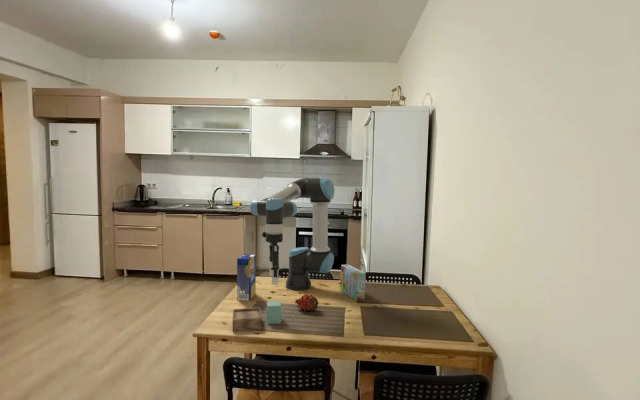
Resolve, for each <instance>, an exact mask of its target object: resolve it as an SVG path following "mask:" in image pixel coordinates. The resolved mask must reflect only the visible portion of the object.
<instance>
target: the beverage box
mask: <svg viewBox="0 0 640 400" xmlns="http://www.w3.org/2000/svg"><path fill="white" fill-rule="evenodd" d="M256 260H257V254H250V253H249V254H245V253H244V254H242V255H241V256H239V257H237V259H236V300H237V301H248V300H250V299H251V300H252V298H253V297H254V296H255V295H256V293H257V292H256V290H257V287H256V283H257V280H256V276H257V275H256V273H257V272H256V271H257V269H256V268H257V267H256V265H257V261H256ZM251 300H250V301H251Z"/></svg>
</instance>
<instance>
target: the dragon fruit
mask: <svg viewBox="0 0 640 400" xmlns="http://www.w3.org/2000/svg"><path fill="white" fill-rule="evenodd" d="M294 304H296V306H297V308H298V309H302V310H303V311H304V312H307V311H308V312H312V311H313V310H316V309H318V308H319V307H318V305H319V304H320V303H319V300H318V299H317V297H315V296H314V295H312V294H310V293H309V294H305V293H304V294H303V295H301V297H300V298H297V299H296V300H295V301H294Z"/></svg>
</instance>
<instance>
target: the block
mask: <svg viewBox="0 0 640 400" xmlns="http://www.w3.org/2000/svg"><path fill="white" fill-rule="evenodd" d="M281 303H282V302H281V301H280V300H274V301H270V300H269V301H266V324H268V325H270V324H271V325H272V324H282V304H281Z"/></svg>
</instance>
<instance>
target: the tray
mask: <svg viewBox="0 0 640 400" xmlns="http://www.w3.org/2000/svg"><path fill="white" fill-rule="evenodd" d="M262 317H263V316H262V311H261V307H248V308H247V307H244V308H233V310H232V332H239V331H252V330H262V329H263V328H262V324H263V323H262V322H263V321H262V319H263V318H262Z"/></svg>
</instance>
